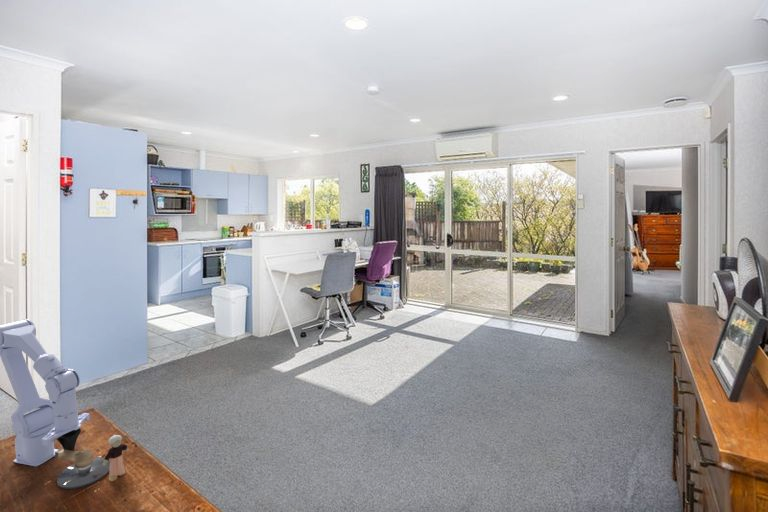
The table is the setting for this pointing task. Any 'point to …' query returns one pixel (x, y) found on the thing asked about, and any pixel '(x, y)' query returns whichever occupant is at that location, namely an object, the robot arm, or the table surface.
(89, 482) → the post base
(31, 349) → the robot arm
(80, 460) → the wooden scoop
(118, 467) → the grandmother figurine
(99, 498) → the table surface
